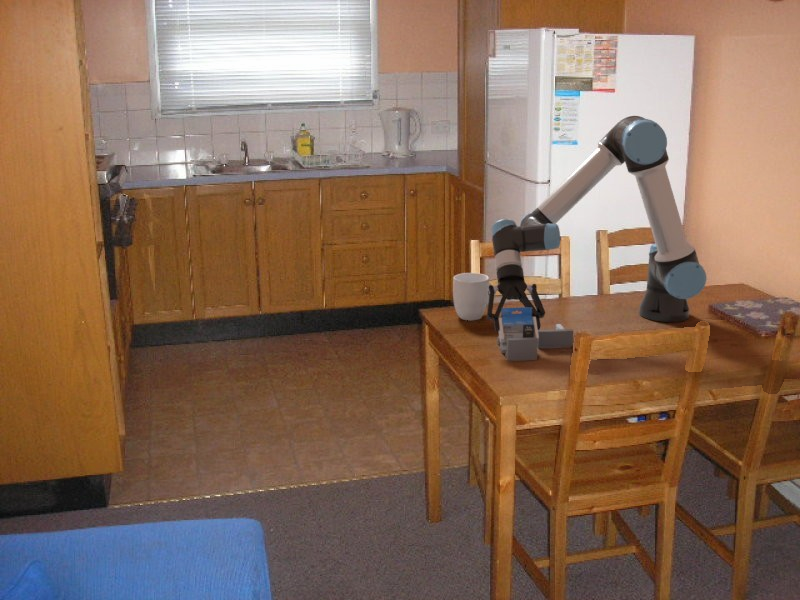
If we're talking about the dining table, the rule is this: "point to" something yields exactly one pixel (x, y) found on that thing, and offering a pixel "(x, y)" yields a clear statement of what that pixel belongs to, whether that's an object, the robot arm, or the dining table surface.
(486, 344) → the dining table surface
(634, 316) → the dining table surface
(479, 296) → the mug
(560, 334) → the dock
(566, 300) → the dining table surface
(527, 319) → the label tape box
